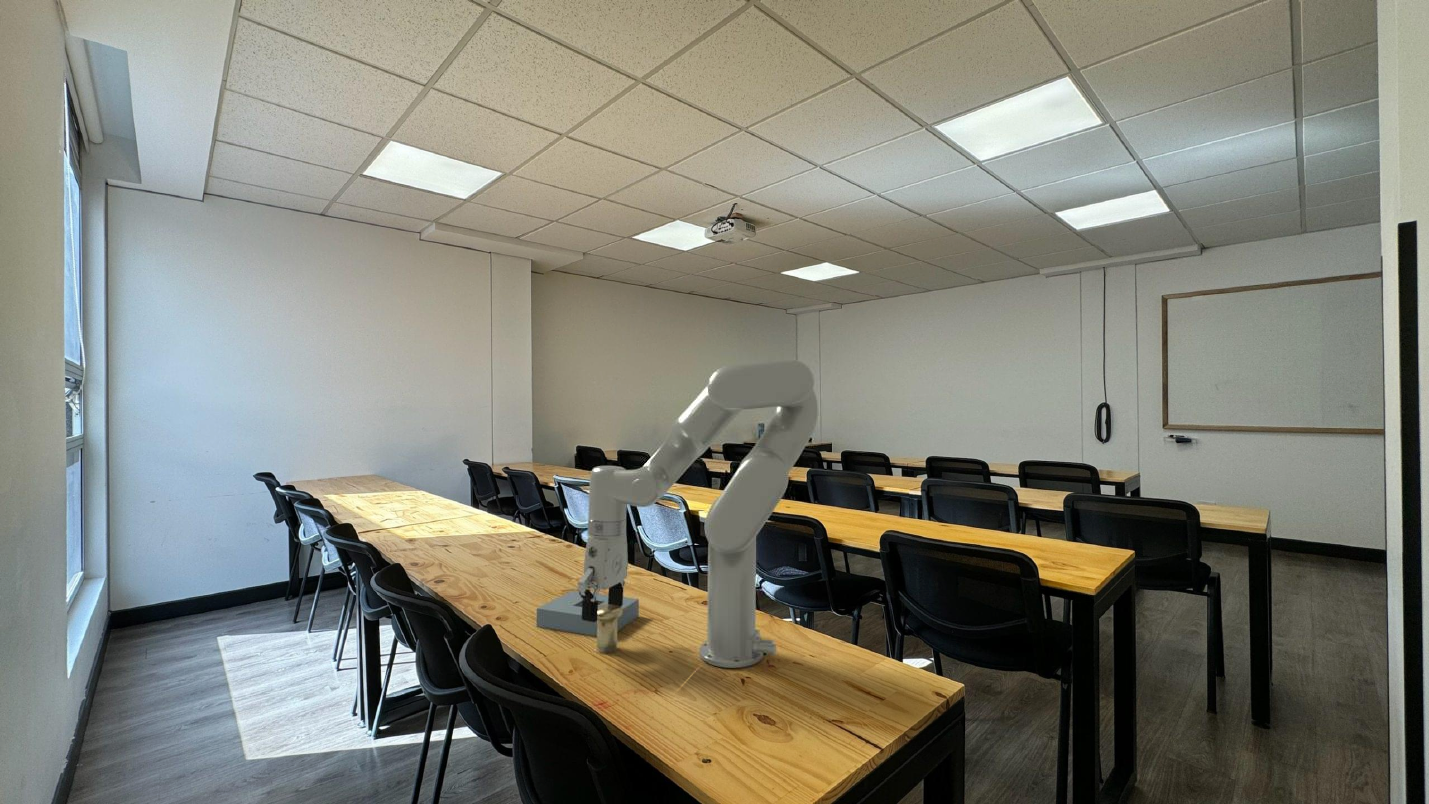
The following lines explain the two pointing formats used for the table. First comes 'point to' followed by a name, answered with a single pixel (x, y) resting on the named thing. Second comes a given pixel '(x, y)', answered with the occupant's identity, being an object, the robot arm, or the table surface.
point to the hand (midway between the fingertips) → (602, 612)
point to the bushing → (607, 628)
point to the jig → (580, 614)
